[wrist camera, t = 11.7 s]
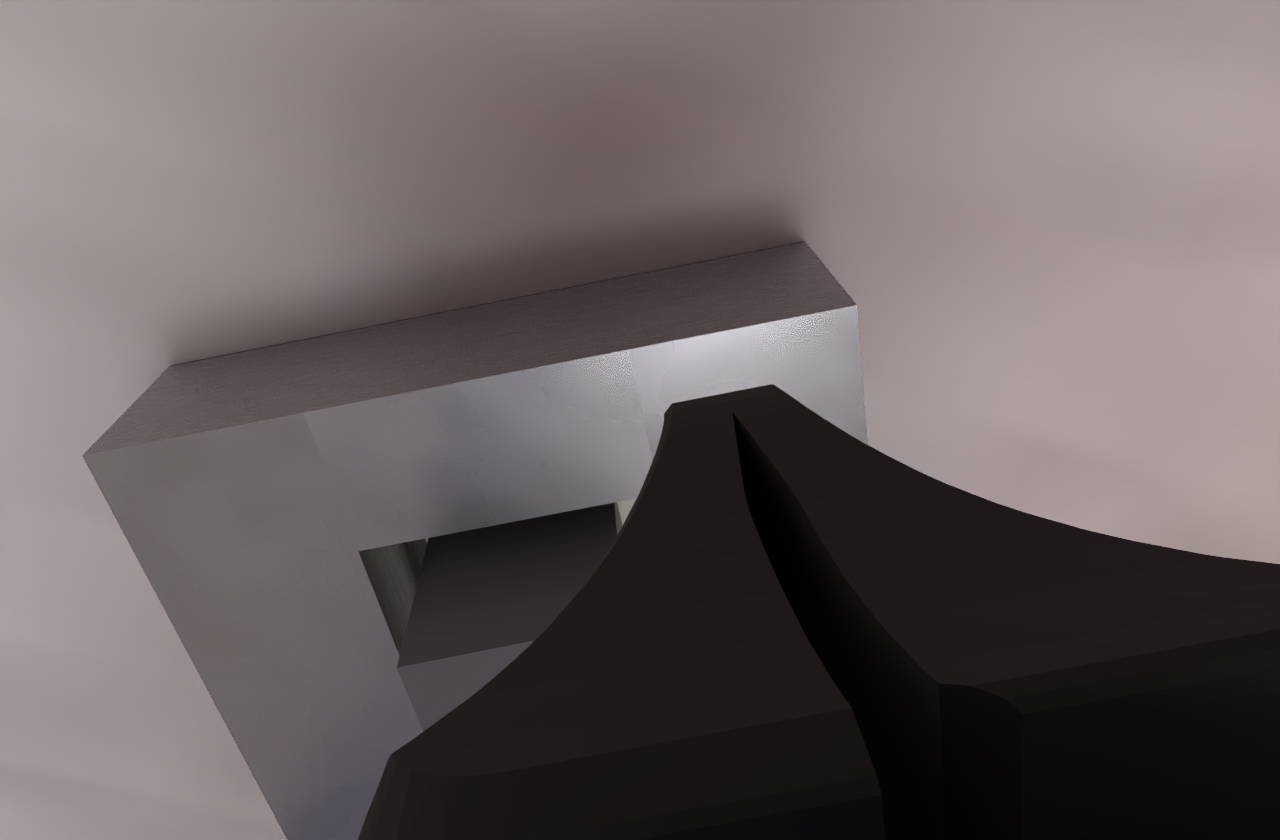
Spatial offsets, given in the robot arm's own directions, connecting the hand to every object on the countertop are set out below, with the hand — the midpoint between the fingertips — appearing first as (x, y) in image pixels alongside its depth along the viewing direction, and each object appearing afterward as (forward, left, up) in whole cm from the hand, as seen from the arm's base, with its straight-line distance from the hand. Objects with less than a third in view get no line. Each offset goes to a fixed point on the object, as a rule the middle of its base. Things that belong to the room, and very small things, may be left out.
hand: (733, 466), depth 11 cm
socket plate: (-4, -7, -9) cm, 12 cm away
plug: (-4, -7, -8) cm, 12 cm away
